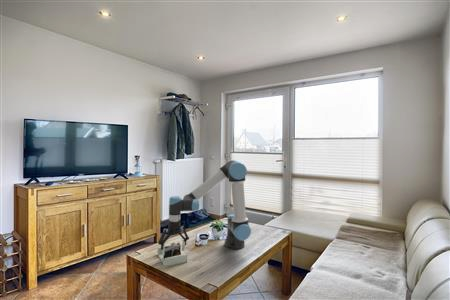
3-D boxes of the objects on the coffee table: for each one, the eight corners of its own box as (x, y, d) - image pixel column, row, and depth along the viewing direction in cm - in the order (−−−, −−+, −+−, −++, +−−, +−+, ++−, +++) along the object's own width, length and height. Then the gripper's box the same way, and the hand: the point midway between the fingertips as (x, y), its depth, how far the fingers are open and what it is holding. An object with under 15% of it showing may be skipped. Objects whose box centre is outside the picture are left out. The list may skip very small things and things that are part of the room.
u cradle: (177, 250, 169) (177, 243, 169) (187, 262, 153) (187, 254, 153) (157, 254, 162) (157, 247, 162) (165, 267, 146) (165, 258, 146)
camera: (169, 262, 151) (170, 248, 151) (161, 258, 156) (163, 244, 156) (185, 257, 161) (186, 243, 161) (177, 253, 166) (179, 240, 166)
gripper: (190, 216, 167) (189, 246, 167) (153, 221, 155) (152, 253, 155) (194, 219, 161) (193, 251, 161) (156, 224, 148) (155, 258, 148)
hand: (173, 252), depth 158 cm, fingers open, 13 cm apart
